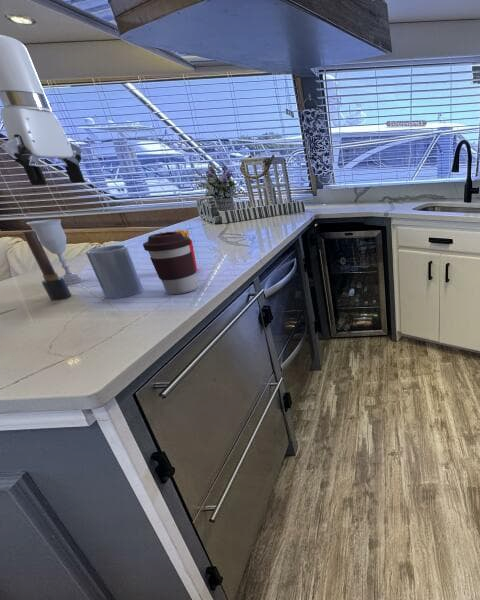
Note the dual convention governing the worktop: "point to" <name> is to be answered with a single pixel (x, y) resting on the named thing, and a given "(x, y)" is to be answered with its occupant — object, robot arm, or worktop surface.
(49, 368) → the worktop surface
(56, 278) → the brush
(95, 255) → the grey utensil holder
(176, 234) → the coffee cup
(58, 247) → the chalice
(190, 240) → the french fries
